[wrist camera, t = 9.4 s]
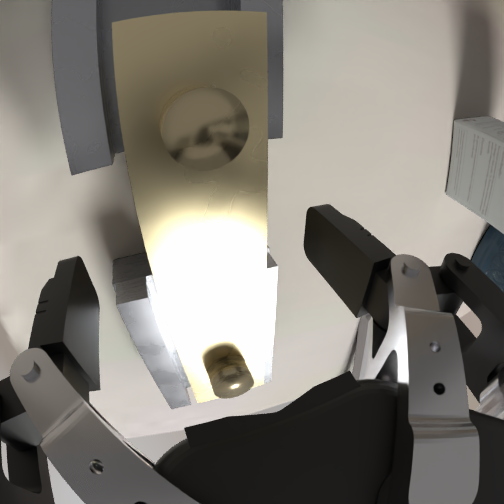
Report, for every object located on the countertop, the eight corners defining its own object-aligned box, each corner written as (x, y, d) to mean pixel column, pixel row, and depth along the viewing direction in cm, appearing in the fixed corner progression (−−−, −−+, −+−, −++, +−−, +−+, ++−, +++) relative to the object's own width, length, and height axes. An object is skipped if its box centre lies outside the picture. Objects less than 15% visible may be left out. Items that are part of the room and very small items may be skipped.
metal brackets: (250, -74, 6) (282, -103, 4) (256, 346, 23) (273, 380, 20) (75, -59, 4) (61, -90, 2) (160, 371, 21) (168, 409, 18)
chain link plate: (212, 36, 8) (288, 4, 4) (231, 312, 17) (271, 401, 12) (125, 47, 8) (107, 12, 3) (177, 326, 16) (204, 421, 11)
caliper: (339, 391, 39) (360, 423, 34) (333, 394, 38) (353, 427, 34) (370, 299, 26) (410, 344, 21) (362, 303, 26) (401, 350, 21)
